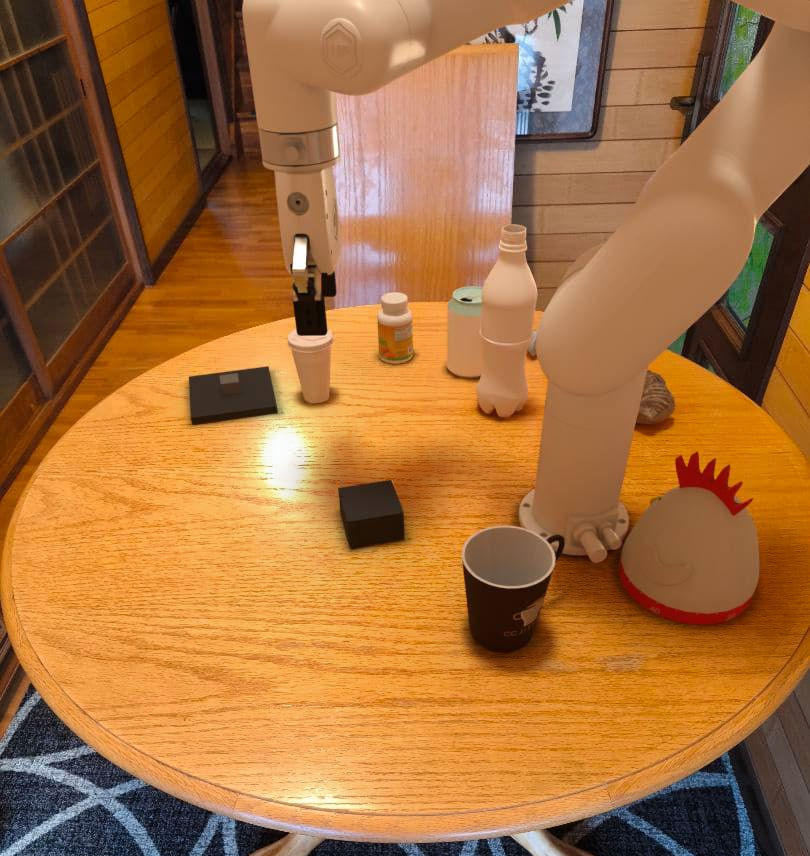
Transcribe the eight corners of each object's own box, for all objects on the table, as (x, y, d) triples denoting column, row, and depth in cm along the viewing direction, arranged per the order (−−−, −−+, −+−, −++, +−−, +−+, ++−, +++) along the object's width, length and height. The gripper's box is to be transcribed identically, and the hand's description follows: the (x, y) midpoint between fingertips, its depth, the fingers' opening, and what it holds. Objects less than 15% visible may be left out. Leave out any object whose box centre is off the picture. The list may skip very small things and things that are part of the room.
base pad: (277, 413, 109) (275, 393, 107) (192, 425, 107) (187, 405, 105) (269, 373, 118) (266, 354, 115) (190, 383, 116) (185, 364, 113)
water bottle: (467, 414, 107) (474, 233, 91) (487, 390, 112) (498, 215, 96) (515, 426, 105) (531, 243, 88) (533, 401, 110) (552, 223, 93)
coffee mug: (473, 669, 73) (477, 596, 66) (448, 606, 79) (450, 533, 73) (586, 646, 75) (601, 572, 68) (553, 586, 81) (564, 514, 75)
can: (494, 380, 114) (499, 303, 107) (447, 380, 115) (449, 304, 107) (490, 357, 120) (494, 283, 112) (445, 358, 120) (446, 284, 112)
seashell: (636, 444, 102) (680, 422, 105) (645, 400, 97) (690, 379, 100) (589, 410, 108) (631, 390, 111) (595, 368, 103) (639, 348, 105)
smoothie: (331, 410, 109) (322, 317, 100) (288, 406, 110) (276, 314, 101) (343, 387, 114) (335, 297, 104) (302, 384, 115) (291, 294, 106)
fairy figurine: (559, 357, 112) (485, 332, 116) (552, 385, 115) (481, 359, 119) (585, 326, 119) (515, 303, 123) (578, 353, 123) (510, 330, 126)
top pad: (404, 539, 88) (403, 512, 85) (349, 548, 87) (347, 521, 84) (392, 505, 92) (391, 479, 90) (340, 514, 91) (337, 487, 89)
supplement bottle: (373, 352, 122) (370, 294, 115) (404, 345, 123) (402, 287, 117) (387, 367, 118) (384, 307, 112) (418, 360, 120) (418, 300, 113)
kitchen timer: (667, 519, 89) (697, 408, 79) (777, 579, 81) (826, 464, 72) (592, 574, 83) (614, 460, 73) (704, 646, 75) (747, 529, 65)
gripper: (329, 170, 66) (344, 351, 78) (346, 122, 79) (357, 282, 91) (244, 172, 67) (271, 351, 78) (275, 123, 80) (295, 283, 91)
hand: (317, 314), depth 84 cm, fingers open, 9 cm apart
